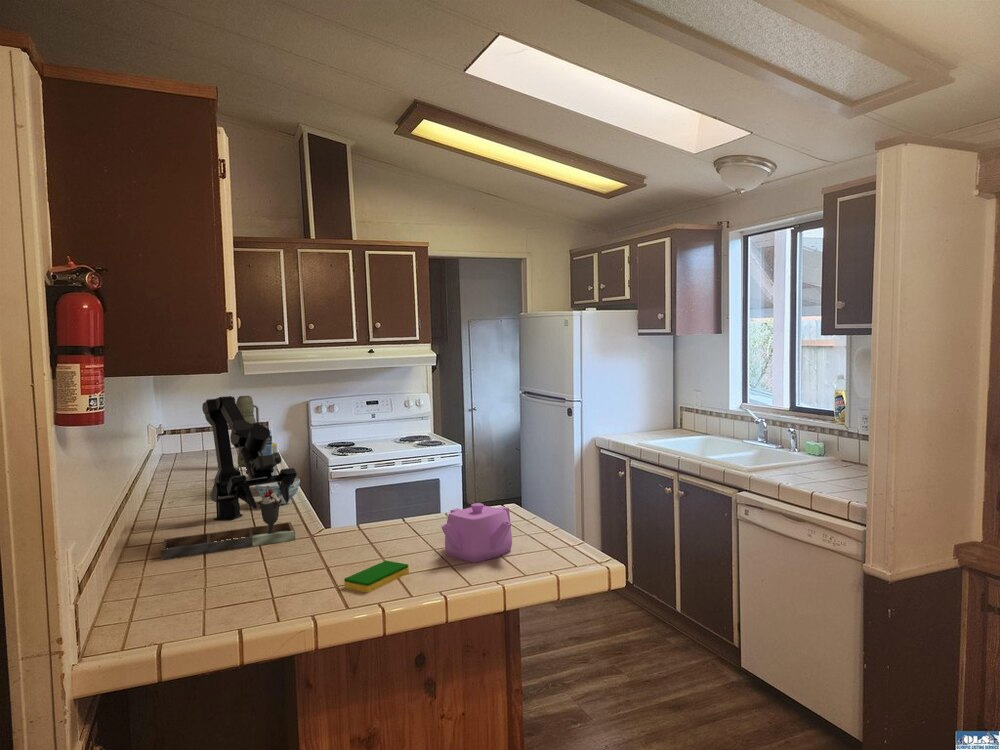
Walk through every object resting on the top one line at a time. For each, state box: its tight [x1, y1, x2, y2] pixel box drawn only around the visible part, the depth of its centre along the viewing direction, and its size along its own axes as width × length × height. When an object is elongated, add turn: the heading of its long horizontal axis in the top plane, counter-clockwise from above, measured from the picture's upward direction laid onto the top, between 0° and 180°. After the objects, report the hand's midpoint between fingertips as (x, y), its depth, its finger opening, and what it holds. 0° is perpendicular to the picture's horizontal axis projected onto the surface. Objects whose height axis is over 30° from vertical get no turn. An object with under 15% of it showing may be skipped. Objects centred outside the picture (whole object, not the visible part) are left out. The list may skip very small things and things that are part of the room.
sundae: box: [256, 486, 282, 534], centre depth 180 cm, size 7×7×15 cm
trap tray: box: [160, 521, 296, 560], centre depth 176 cm, size 33×12×2 cm, turn 114°
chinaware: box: [254, 477, 301, 506], centre depth 225 cm, size 15×15×8 cm
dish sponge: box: [343, 560, 410, 594], centre depth 142 cm, size 7×14×2 cm, turn 148°
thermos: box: [235, 395, 260, 467], centre depth 304 cm, size 9×12×35 cm
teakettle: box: [440, 502, 513, 564], centre depth 159 cm, size 17×17×12 cm
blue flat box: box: [262, 429, 274, 476], centre depth 248 cm, size 20×5×23 cm, turn 20°
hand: (272, 504), depth 179 cm, fingers open, 9 cm apart
